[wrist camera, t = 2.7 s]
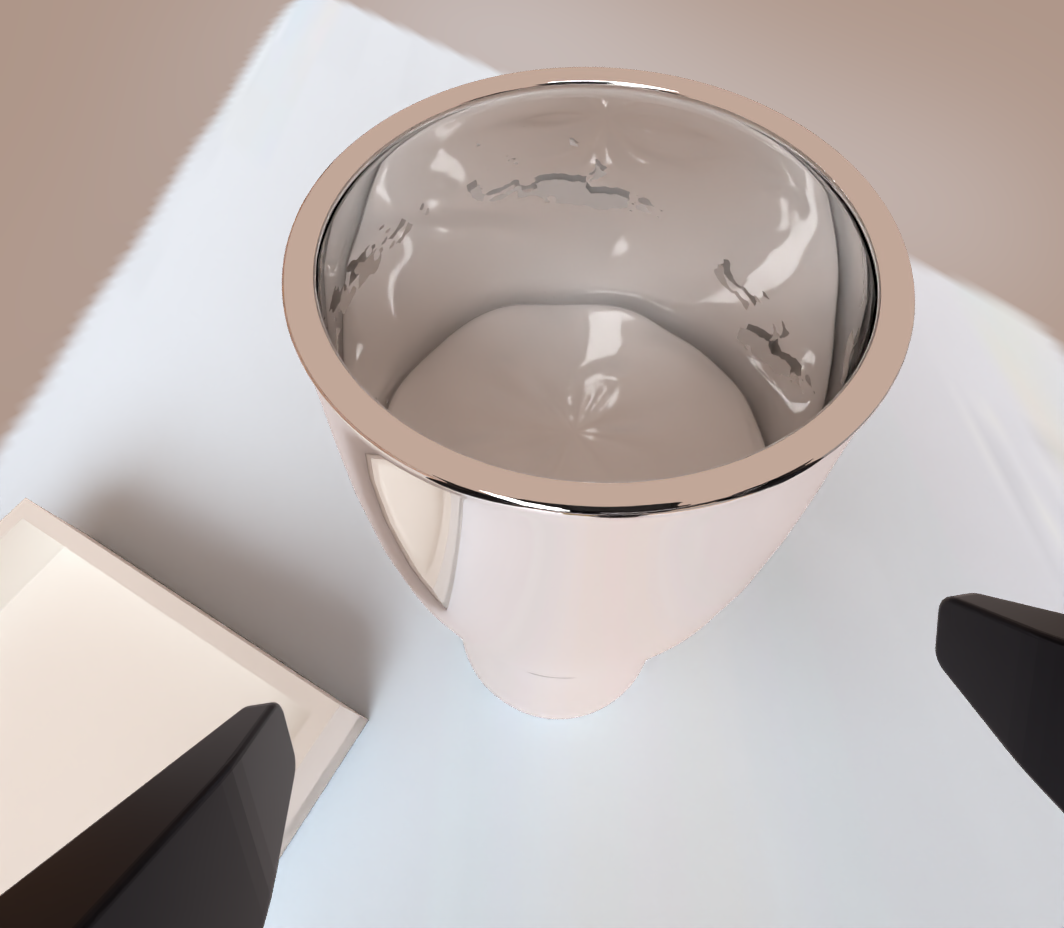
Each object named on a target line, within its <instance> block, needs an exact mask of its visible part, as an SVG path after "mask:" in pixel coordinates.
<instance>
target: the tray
mask: <svg viewBox="0 0 1064 928" xmlns="http://www.w3.org/2000/svg"><path fill="white" fill-rule="evenodd" d="M270 702H276V703H278V704H279V705H280V706H281V708H282V710H283V712H284V716H285V719H286V723H287V727H288V731H289V734H290V738H291V742H292V746H293V749H294V754H295V763H296V767H295V776H294V782H293V787H292V793H291V798H290V803H289V809H288V814H287V819H286V825H285V830H284V835H283V841H282V846H281V852H280V857H281V855H282V854H283V852H284V851H285V849H286V847H287V846H288V844H289V843H290V841H291V840H292V838H293V837H294V835H295V833H296V832H297V830H298V829H299V827H300V826H301V824H302V823H303V821H304V819H305V818H306V816H307V815H308V813H309V812H310V810H311V809H312V807H313V806H314V804H315V802H316V801H317V799H318V798H319V796H320V795H321V793H322V792H323V790H324V788H325V787H326V785H327V784H328V782H329V781H330V779H331V778H332V776H333V775H334V773H335V771H336V770H337V768H338V767H339V765H340V764H341V762H342V761H343V759H344V757H345V756H346V754H347V753H348V751H349V750H350V748H351V747H352V745H353V744H354V742H355V740H356V739H357V737H358V736H359V734H360V733H361V731H362V730H363V728H364V726H365V725H366V723H367V722H368V719H366V718H365V717H363V716H362V715H360V714H359V713H357V712H356V711H354V710H353V709H351V708H350V707H348V706H347V705H345V704H344V703H342V702H341V701H339V700H337V699H336V698H334V697H333V696H331V695H330V694H328V693H327V692H325V691H324V690H322V689H321V688H319V687H318V686H316V685H315V684H313V683H312V682H310V681H309V680H307V679H306V678H304V677H303V676H301V675H299V674H298V673H296V672H295V671H293V670H292V669H290V668H289V667H287V666H286V665H284V664H283V663H281V662H280V661H278V660H277V659H275V658H274V657H272V656H271V655H269V654H268V653H266V652H265V651H263V650H261V649H260V648H258V647H257V646H255V645H254V644H252V643H251V642H249V641H248V640H246V639H245V638H243V637H242V636H240V635H239V634H237V633H236V632H234V631H233V630H231V629H230V628H228V627H227V626H225V625H223V624H222V623H220V622H219V621H217V620H216V619H214V618H213V617H211V616H210V615H208V614H207V613H205V612H204V611H202V610H201V609H199V608H198V607H196V606H195V605H193V604H192V603H190V602H189V601H187V600H185V599H184V598H182V597H181V596H179V595H178V594H176V593H175V592H173V591H172V590H170V589H169V588H167V587H166V586H164V585H163V584H161V583H160V582H158V581H157V580H155V579H154V578H152V577H151V576H149V575H147V574H146V573H144V572H143V571H141V570H140V569H138V568H137V567H135V566H134V565H132V564H131V563H129V562H128V561H126V560H125V559H123V558H122V557H120V556H119V555H117V554H116V553H114V552H113V551H111V550H109V549H108V548H106V547H105V546H103V545H102V544H100V543H99V542H97V541H96V540H94V539H93V538H91V537H90V536H88V535H86V534H85V533H83V532H81V531H80V530H78V529H77V528H75V527H73V526H72V525H70V524H68V523H67V522H65V521H63V520H62V519H60V518H58V517H57V516H55V515H53V514H52V513H50V512H48V511H47V510H45V509H43V508H42V507H40V506H38V505H37V504H35V503H33V502H32V501H30V500H29V499H27V498H25V499H24V500H23V501H22V502H20V503H19V504H18V505H17V506H16V507H15V508H14V509H13V510H12V511H11V512H10V513H9V514H8V515H6V516H5V517H4V518H3V519H2V520H1V521H0V895H1V894H3V893H4V892H5V891H6V890H8V889H9V888H10V887H12V886H13V885H14V884H16V883H17V882H18V881H19V880H21V879H22V878H23V877H25V876H26V875H27V874H29V873H30V872H31V871H32V870H34V869H35V868H36V867H38V866H39V865H40V864H41V863H43V862H44V861H45V860H47V859H48V858H49V857H51V856H52V855H53V854H54V853H56V852H57V851H58V850H60V849H61V848H62V847H63V846H65V845H66V844H67V843H69V842H70V841H71V840H73V839H74V838H75V837H76V836H78V835H79V834H80V833H82V832H83V831H84V830H86V829H87V828H88V827H89V826H91V825H92V824H93V823H95V822H96V821H97V820H98V819H100V818H101V817H102V816H104V815H105V814H106V813H108V812H109V811H110V810H111V809H113V808H114V807H115V806H117V805H118V804H119V803H120V802H122V801H123V800H124V799H126V798H127V797H128V796H130V795H131V794H132V793H133V792H135V791H136V790H137V789H139V788H140V787H141V786H143V785H144V784H145V783H146V782H148V781H149V780H150V779H152V778H153V777H154V776H155V775H157V774H158V773H159V772H161V771H162V770H163V769H165V768H166V767H167V766H168V765H170V764H171V763H172V762H174V761H175V760H176V759H177V758H179V757H180V756H181V755H183V754H184V753H185V752H187V751H188V750H189V749H190V748H192V747H193V746H194V745H196V744H197V743H198V742H199V741H201V740H202V739H203V738H205V737H206V736H207V735H209V734H210V733H211V732H212V731H214V730H215V729H216V728H218V727H219V726H220V725H222V724H223V723H224V722H225V721H227V720H228V719H229V718H231V717H232V716H233V715H234V714H236V713H237V712H238V711H240V710H241V709H242V708H244V707H246V706H250V705H257V704H263V703H270ZM280 857H279V858H280Z"/></svg>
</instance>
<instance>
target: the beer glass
mask: <svg viewBox="0 0 1064 928" xmlns="http://www.w3.org/2000/svg"><path fill="white" fill-rule="evenodd" d="M282 299H283V307H284V313H285V319H286V323H287V327H288V331H289V334H290V337H291V341H292V343H293V346H294V348H295V351H296V353H297V355H298V358H299V360H300V362H301V364H302V366H303V368H304V369H305V371H306V373H307V375H308V376H309V378H310V380H311V381H312V383H313V384H314V386H315V389H316V391H317V394H318V396H319V399H320V401H321V404H322V407H323V410H324V413H325V415H326V418H327V421H328V424H329V426H330V429H331V432H332V435H333V438H334V440H335V443H336V446H337V448H338V451H339V453H340V456H341V458H342V461H343V463H344V466H345V468H346V471H347V473H348V476H349V478H350V481H351V483H352V486H353V488H354V491H355V493H356V495H357V497H358V500H359V502H360V504H361V506H362V508H363V510H364V512H365V514H366V516H367V518H368V520H369V522H370V524H371V526H372V528H373V530H374V532H375V534H376V535H377V537H378V539H379V541H380V543H381V545H382V547H383V549H384V551H385V552H386V554H387V555H388V557H389V559H390V560H391V561H392V563H393V564H394V566H395V567H396V569H397V570H398V571H399V573H400V574H401V576H402V577H403V578H404V580H405V581H406V583H407V584H408V585H409V587H410V588H411V590H412V591H413V592H414V594H415V595H416V596H417V598H418V599H419V600H420V601H421V603H422V604H423V605H424V606H425V607H426V608H427V609H428V610H429V611H430V612H431V613H432V614H433V615H434V616H435V617H436V618H437V619H438V620H439V621H440V622H441V623H443V624H444V625H445V626H446V627H447V628H449V629H450V630H451V631H452V632H454V633H455V634H456V635H457V636H459V637H460V638H461V639H462V640H463V645H464V649H465V652H466V655H467V657H468V660H469V662H470V664H471V666H472V668H473V670H474V672H475V673H476V675H477V676H478V678H479V679H480V681H481V682H482V683H483V684H484V685H485V687H486V688H487V689H488V690H489V691H490V692H492V693H493V694H494V695H495V696H496V697H498V698H499V699H500V700H502V701H503V702H504V703H506V704H508V705H509V706H511V707H513V708H515V709H517V710H519V711H521V712H523V713H526V714H529V715H532V716H535V717H540V718H546V719H571V718H577V717H581V716H585V715H588V714H591V713H594V712H596V711H598V710H600V709H602V708H604V707H606V706H608V705H609V704H611V703H612V702H614V701H615V700H616V699H618V698H619V697H620V696H621V695H622V694H623V693H624V692H625V691H626V690H627V689H628V688H629V687H630V686H631V685H632V684H633V682H634V681H635V680H636V678H637V677H638V675H639V673H640V672H641V670H642V668H643V666H644V664H645V662H646V660H648V659H650V658H652V657H654V656H657V655H659V654H661V653H663V652H665V651H667V650H669V649H671V648H673V647H675V646H677V645H678V644H680V643H681V642H683V641H685V640H686V639H688V638H689V637H691V636H692V635H693V634H695V633H696V632H697V631H699V630H700V629H701V628H702V627H704V626H705V625H706V624H707V623H708V622H709V621H710V620H712V619H713V618H714V617H715V616H716V615H717V614H718V613H719V612H720V611H722V610H723V609H724V608H725V607H726V606H727V605H728V604H729V603H730V602H732V601H733V600H734V599H735V598H736V597H737V596H738V595H739V594H740V593H741V592H742V591H743V590H744V589H745V588H746V587H747V586H748V584H749V583H750V582H751V581H752V580H753V578H754V577H755V576H756V575H757V573H758V572H759V571H760V570H761V569H762V567H763V566H764V565H765V564H766V562H767V561H768V560H769V559H770V557H771V556H772V555H773V554H774V553H775V551H776V550H777V549H778V548H779V546H780V545H781V544H782V543H783V541H784V540H785V539H786V537H787V536H788V534H789V533H790V531H791V530H792V529H793V527H794V526H795V524H796V523H797V521H798V520H799V518H800V517H801V515H802V514H803V512H804V511H805V510H806V508H807V507H808V505H809V504H810V502H811V501H812V499H813V498H814V496H815V495H816V493H817V492H818V490H819V489H820V487H821V485H822V484H823V482H824V481H825V479H826V477H827V476H828V474H829V473H830V471H831V469H832V468H833V466H834V465H835V463H836V461H837V460H838V458H839V457H840V455H841V453H842V452H843V450H844V449H845V447H846V446H847V444H848V443H849V441H850V440H851V438H852V437H853V435H854V434H855V433H856V432H857V431H858V430H859V429H860V428H861V427H862V426H863V425H864V424H865V423H866V422H867V421H868V419H869V418H870V417H871V416H872V415H873V413H874V412H875V411H876V410H877V408H878V407H879V406H880V404H881V403H882V401H883V400H884V399H885V397H886V395H887V394H888V392H889V391H890V389H891V387H892V385H893V383H894V382H895V380H896V378H897V376H898V373H899V371H900V369H901V367H902V364H903V362H904V359H905V356H906V353H907V350H908V347H909V343H910V340H911V335H912V330H913V324H914V315H915V291H914V281H913V275H912V269H911V264H910V261H909V257H908V253H907V250H906V247H905V244H904V242H903V239H902V237H901V234H900V232H899V230H898V227H897V225H896V223H895V221H894V219H893V217H892V216H891V214H890V212H889V211H888V209H887V207H886V206H885V204H884V203H883V201H882V200H881V198H880V197H879V195H878V194H877V193H876V191H875V190H874V189H873V188H872V186H871V185H870V184H869V183H868V181H867V180H866V179H865V178H864V177H863V176H862V175H861V174H860V173H859V171H858V170H857V169H856V168H855V167H854V166H853V165H852V164H851V163H850V162H849V161H848V160H846V159H845V158H844V157H843V156H842V155H841V154H840V153H839V152H837V151H836V150H835V149H834V148H832V147H831V146H830V145H829V144H827V143H826V142H825V141H823V140H822V139H820V138H819V137H818V136H817V135H815V134H814V133H812V132H811V131H809V130H808V129H806V128H805V127H803V126H802V125H800V124H798V123H796V122H795V121H793V120H791V119H790V118H788V117H786V116H784V115H782V114H781V113H779V112H777V111H774V110H773V109H770V108H768V107H766V106H764V105H762V104H760V103H758V102H755V101H753V100H751V99H748V98H746V97H743V96H741V95H738V94H735V93H732V92H730V91H727V90H724V89H721V88H718V87H715V86H711V85H708V84H704V83H701V82H697V81H694V80H690V79H685V78H681V77H676V76H671V75H666V74H661V73H654V72H648V71H640V70H632V69H621V68H604V67H567V68H550V69H540V70H532V71H524V72H517V73H511V74H505V75H500V76H495V77H491V78H487V79H482V80H478V81H475V82H471V83H468V84H464V85H461V86H458V87H455V88H452V89H449V90H446V91H443V92H441V93H438V94H435V95H433V96H430V97H428V98H426V99H423V100H421V101H419V102H417V103H415V104H412V105H411V106H409V107H407V108H405V109H403V110H401V111H399V112H397V113H395V114H393V115H392V116H390V117H388V118H387V119H385V120H383V121H382V122H380V123H379V124H377V125H376V126H374V127H373V128H371V129H370V130H369V131H367V132H366V133H365V134H363V135H362V136H361V137H359V138H358V139H357V140H356V141H354V142H353V143H352V144H351V145H350V146H349V147H347V148H346V149H345V150H344V151H343V152H342V153H341V154H340V155H339V156H338V157H337V158H336V159H335V160H334V161H333V162H332V163H331V164H330V165H329V167H328V168H327V169H326V170H325V171H324V172H323V174H322V175H321V176H320V177H319V179H318V180H317V181H316V183H315V184H314V186H313V187H312V188H311V190H310V192H309V193H308V195H307V196H306V198H305V200H304V202H303V204H302V205H301V207H300V209H299V212H298V214H297V216H296V218H295V221H294V223H293V226H292V228H291V231H290V234H289V237H288V241H287V245H286V248H285V254H284V259H283V268H282Z"/></svg>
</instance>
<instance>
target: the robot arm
mask: <svg viewBox="0 0 1064 928" xmlns="http://www.w3.org/2000/svg"><path fill="white" fill-rule="evenodd" d="M935 648H936V656H937V659H938V662H939V664H940V666H941V667H942V669H943V670H944V671H945V673H946V674H947V675H948V676H949V678H950V679H951V680H952V681H953V683H954V684H955V685H956V687H957V688H958V689H959V690H960V692H961V693H962V694H963V695H964V697H965V698H966V699H967V700H968V702H969V703H970V704H971V705H972V707H973V708H974V709H975V710H976V712H977V713H978V714H979V715H980V717H981V718H982V719H983V720H984V722H985V723H986V724H987V725H988V727H989V728H990V729H991V731H992V732H993V733H994V734H995V736H996V737H997V738H998V739H999V741H1000V742H1001V743H1002V744H1003V746H1004V747H1005V748H1006V749H1007V751H1008V752H1009V753H1010V754H1011V755H1012V757H1013V758H1014V759H1015V760H1016V761H1017V763H1018V764H1019V765H1020V766H1021V767H1022V768H1023V770H1024V771H1025V772H1026V773H1027V774H1028V775H1029V776H1030V777H1031V778H1032V780H1033V781H1034V782H1035V783H1036V784H1037V785H1038V786H1039V787H1040V788H1041V789H1042V790H1043V791H1044V792H1045V794H1046V795H1047V796H1048V797H1049V798H1050V799H1051V800H1052V801H1053V802H1054V803H1055V804H1056V805H1057V806H1058V807H1059V808H1060V810H1061V811H1062V812H1063V813H1064V614H1061V613H1057V612H1053V611H1049V610H1045V609H1040V608H1036V607H1032V606H1028V605H1024V604H1020V603H1015V602H1011V601H1007V600H1003V599H999V598H995V597H990V596H986V595H982V594H977V593H968V594H962V595H956V596H950V597H946V598H945V599H943V600H942V602H941V604H940V605H939V612H938V623H937V635H936V647H935ZM295 767H296V763H295V754H294V749H293V746H292V742H291V738H290V734H289V731H288V727H287V723H286V719H285V716H284V712H283V710H282V708H281V706H280V705H279V704H278V703H276V702H270V703H263V704H257V705H250V706H246V707H244V708H242V709H241V710H240V711H238V712H237V713H236V714H234V715H233V716H232V717H231V718H229V719H228V720H227V721H225V722H224V723H223V724H222V725H220V726H219V727H218V728H216V729H215V730H214V731H212V732H211V733H210V734H209V735H207V736H206V737H205V738H203V739H202V740H201V741H199V742H198V743H197V744H196V745H194V746H193V747H192V748H190V749H189V750H188V751H187V752H185V753H184V754H183V755H181V756H180V757H179V758H177V759H176V760H175V761H174V762H172V763H171V764H170V765H168V766H167V767H166V768H165V769H163V770H162V771H161V772H159V773H158V774H157V775H155V776H154V777H153V778H152V779H150V780H149V781H148V782H146V783H145V784H144V785H143V786H141V787H140V788H139V789H137V790H136V791H135V792H133V793H132V794H131V795H130V796H128V797H127V798H126V799H124V800H123V801H122V802H120V803H119V804H118V805H117V806H115V807H114V808H113V809H111V810H110V811H109V812H108V813H106V814H105V815H104V816H102V817H101V818H100V819H98V820H97V821H96V822H95V823H93V824H92V825H91V826H89V827H88V828H87V829H86V830H84V831H83V832H82V833H80V834H79V835H78V836H76V837H75V838H74V839H73V840H71V841H70V842H69V843H67V844H66V845H65V846H63V847H62V848H61V849H60V850H58V851H57V852H56V853H54V854H53V855H52V856H51V857H49V858H48V859H47V860H45V861H44V862H43V863H41V864H40V865H39V866H38V867H36V868H35V869H34V870H32V871H31V872H30V873H29V874H27V875H26V876H25V877H23V878H22V879H21V880H19V881H18V882H17V883H16V884H14V885H13V886H12V887H10V888H9V889H8V890H6V891H5V892H4V893H3V894H1V895H0V928H263V927H264V923H265V920H266V916H267V912H268V908H269V905H270V901H271V897H272V892H273V888H274V883H275V878H276V873H277V868H278V862H279V857H280V852H281V846H282V841H283V835H284V830H285V825H286V819H287V814H288V809H289V803H290V798H291V793H292V787H293V782H294V776H295Z"/></svg>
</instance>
